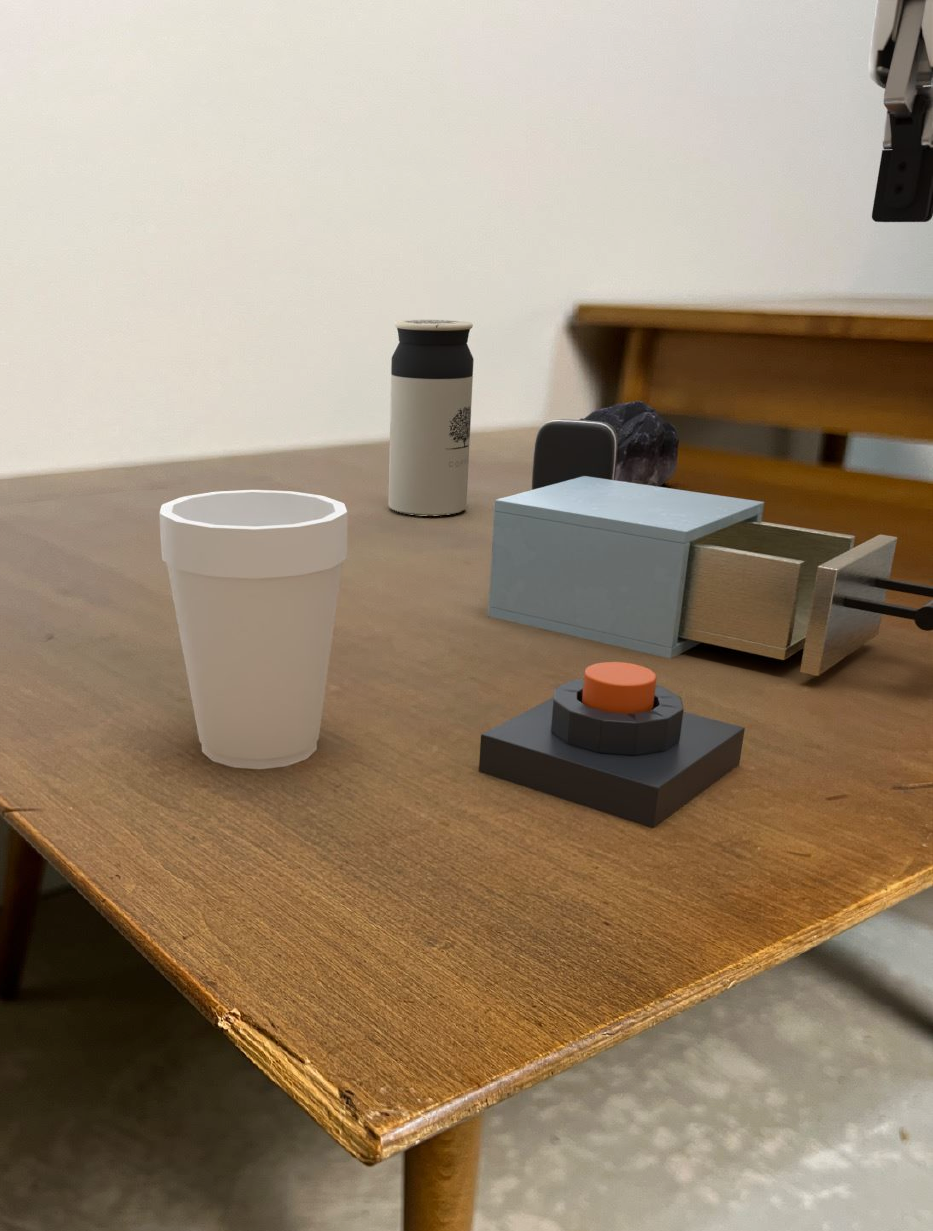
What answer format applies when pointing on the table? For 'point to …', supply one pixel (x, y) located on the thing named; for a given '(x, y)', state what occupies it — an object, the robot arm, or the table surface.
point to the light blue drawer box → (603, 559)
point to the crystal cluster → (641, 443)
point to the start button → (619, 687)
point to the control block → (613, 754)
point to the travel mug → (430, 417)
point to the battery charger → (574, 451)
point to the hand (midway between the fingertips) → (901, 220)
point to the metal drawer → (792, 592)
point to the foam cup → (255, 616)
